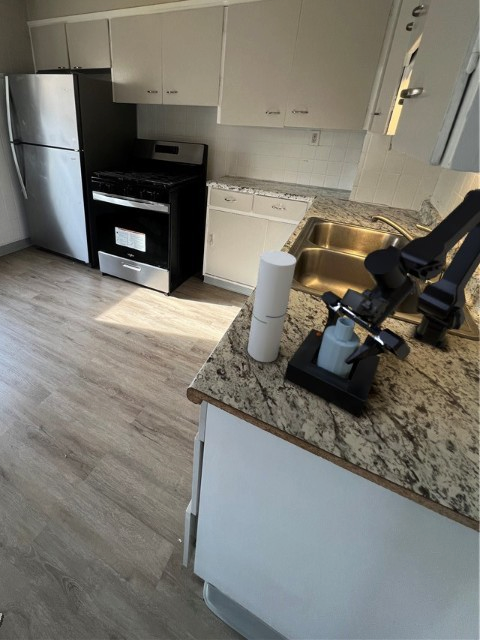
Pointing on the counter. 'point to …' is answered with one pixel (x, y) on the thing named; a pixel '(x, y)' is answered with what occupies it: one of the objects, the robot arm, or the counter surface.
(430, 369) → the counter surface
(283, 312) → the cylindrical container
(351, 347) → the vase
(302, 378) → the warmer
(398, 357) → the robot arm
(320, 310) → the counter surface
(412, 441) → the counter surface
